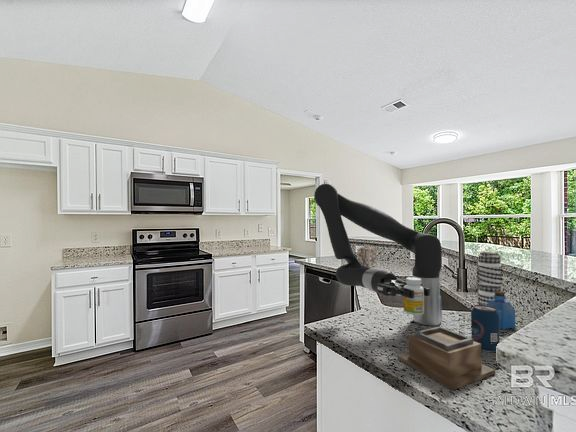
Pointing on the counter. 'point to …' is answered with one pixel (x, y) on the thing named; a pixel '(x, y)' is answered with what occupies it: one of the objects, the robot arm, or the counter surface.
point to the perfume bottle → (503, 310)
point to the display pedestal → (446, 357)
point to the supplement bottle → (417, 303)
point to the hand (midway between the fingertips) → (420, 293)
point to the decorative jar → (367, 256)
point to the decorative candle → (489, 276)
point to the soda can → (485, 327)
